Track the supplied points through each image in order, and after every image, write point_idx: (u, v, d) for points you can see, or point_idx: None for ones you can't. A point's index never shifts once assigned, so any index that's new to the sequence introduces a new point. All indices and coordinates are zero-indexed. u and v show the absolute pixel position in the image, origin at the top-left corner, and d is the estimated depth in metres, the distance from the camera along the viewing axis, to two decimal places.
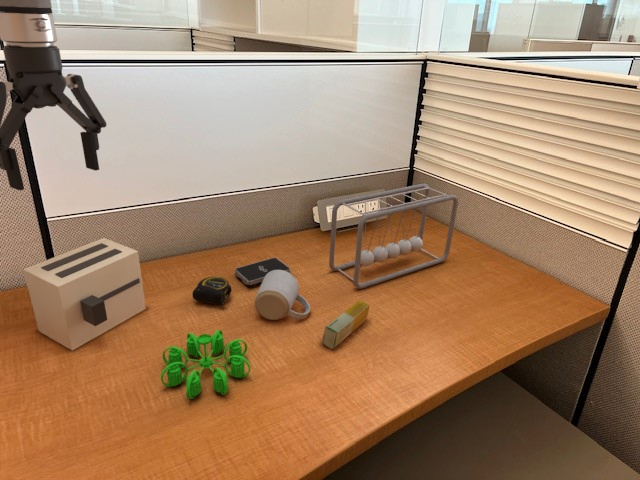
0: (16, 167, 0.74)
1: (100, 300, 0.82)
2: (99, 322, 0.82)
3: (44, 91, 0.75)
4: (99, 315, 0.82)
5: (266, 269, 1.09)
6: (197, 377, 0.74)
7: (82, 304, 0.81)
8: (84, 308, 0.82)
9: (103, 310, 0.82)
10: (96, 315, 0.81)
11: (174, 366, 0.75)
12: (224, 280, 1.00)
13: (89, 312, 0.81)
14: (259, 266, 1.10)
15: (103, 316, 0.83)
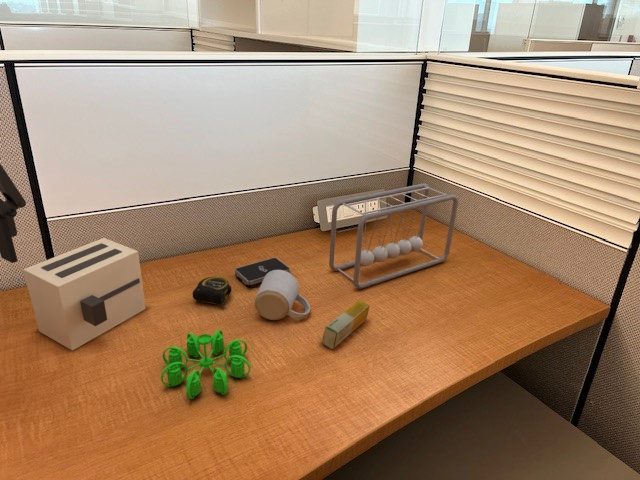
0: None
1: (100, 300, 0.82)
2: (99, 322, 0.82)
3: None
4: (99, 315, 0.82)
5: (266, 269, 1.09)
6: (197, 377, 0.74)
7: (82, 304, 0.81)
8: (84, 308, 0.82)
9: (103, 310, 0.82)
10: (96, 315, 0.81)
11: (174, 366, 0.75)
12: (224, 280, 1.00)
13: (89, 312, 0.81)
14: (259, 266, 1.10)
15: (103, 316, 0.83)
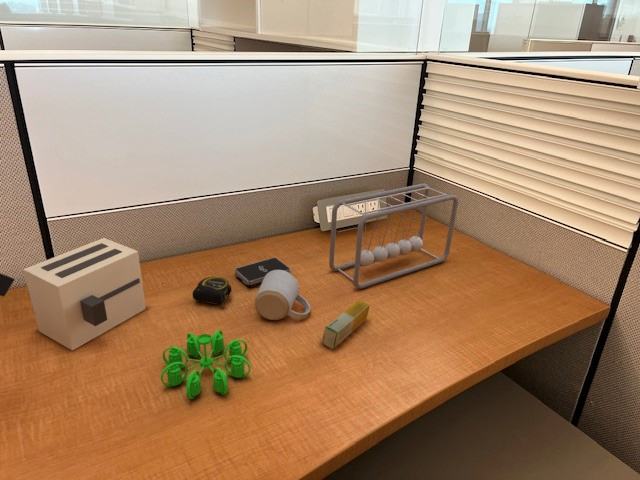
0: None
1: (100, 300, 0.82)
2: (99, 322, 0.82)
3: None
4: (99, 315, 0.82)
5: (266, 269, 1.09)
6: (197, 377, 0.74)
7: (82, 304, 0.81)
8: (84, 308, 0.82)
9: (103, 310, 0.82)
10: (96, 315, 0.81)
11: (174, 366, 0.75)
12: (224, 280, 1.00)
13: (89, 312, 0.81)
14: (259, 266, 1.10)
15: (103, 316, 0.83)
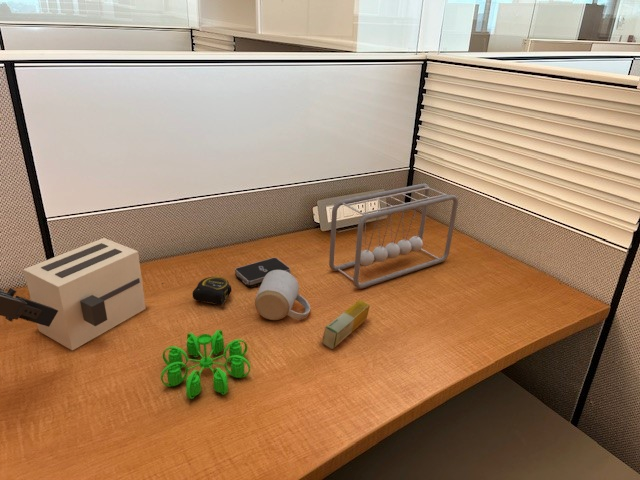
0: None
1: (100, 300, 0.82)
2: (99, 322, 0.82)
3: None
4: (99, 315, 0.82)
5: (266, 269, 1.09)
6: (197, 377, 0.74)
7: (82, 304, 0.81)
8: (84, 308, 0.82)
9: (103, 310, 0.82)
10: (96, 315, 0.81)
11: (174, 366, 0.75)
12: (224, 280, 1.00)
13: (89, 312, 0.81)
14: (259, 266, 1.10)
15: (103, 316, 0.83)
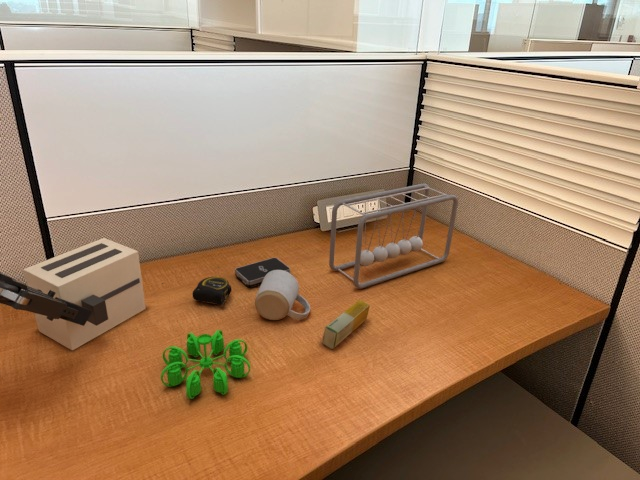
0: None
1: (101, 299, 0.82)
2: (100, 321, 0.82)
3: None
4: (100, 314, 0.82)
5: (266, 269, 1.09)
6: (197, 377, 0.74)
7: (83, 303, 0.82)
8: None
9: (104, 309, 0.83)
10: (97, 314, 0.82)
11: (174, 366, 0.75)
12: (224, 280, 1.00)
13: None
14: (259, 266, 1.10)
15: (104, 315, 0.83)
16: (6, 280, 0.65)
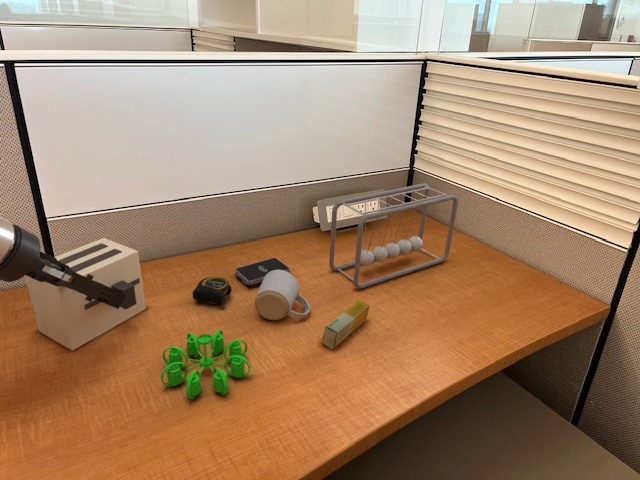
0: None
1: (130, 285, 0.87)
2: (129, 306, 0.87)
3: None
4: (130, 299, 0.87)
5: (266, 269, 1.09)
6: (197, 377, 0.74)
7: (113, 288, 0.86)
8: None
9: (133, 294, 0.87)
10: (127, 299, 0.86)
11: (174, 366, 0.75)
12: (224, 280, 1.00)
13: None
14: (259, 266, 1.10)
15: (133, 300, 0.88)
16: (51, 260, 0.70)
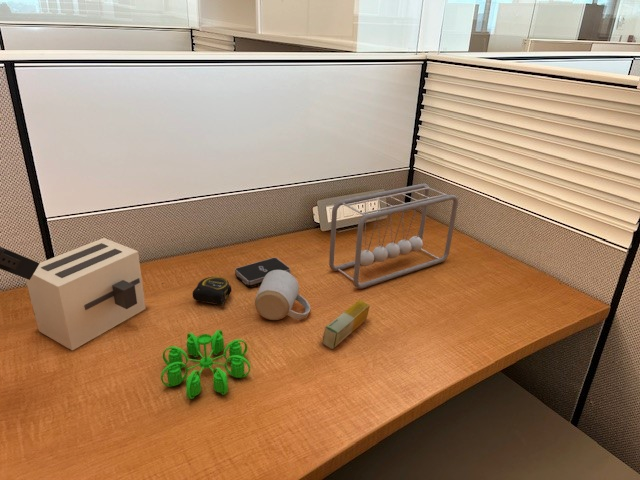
0: None
1: (131, 284, 0.87)
2: (130, 305, 0.87)
3: None
4: (130, 298, 0.87)
5: (266, 269, 1.09)
6: (197, 377, 0.74)
7: (114, 288, 0.86)
8: (116, 292, 0.87)
9: (133, 294, 0.87)
10: (127, 298, 0.86)
11: (174, 366, 0.75)
12: (224, 280, 1.00)
13: (121, 296, 0.86)
14: (259, 266, 1.10)
15: (134, 299, 0.88)
16: None
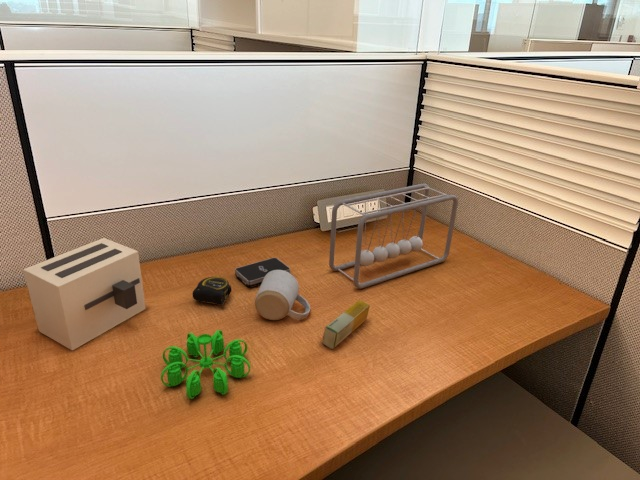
0: None
1: (131, 284, 0.87)
2: (130, 305, 0.87)
3: None
4: (130, 298, 0.87)
5: (266, 269, 1.09)
6: (197, 377, 0.74)
7: (114, 288, 0.86)
8: (116, 292, 0.87)
9: (133, 294, 0.87)
10: (127, 298, 0.86)
11: (174, 366, 0.75)
12: (224, 280, 1.00)
13: (121, 296, 0.86)
14: (259, 266, 1.10)
15: (134, 299, 0.88)
16: None
